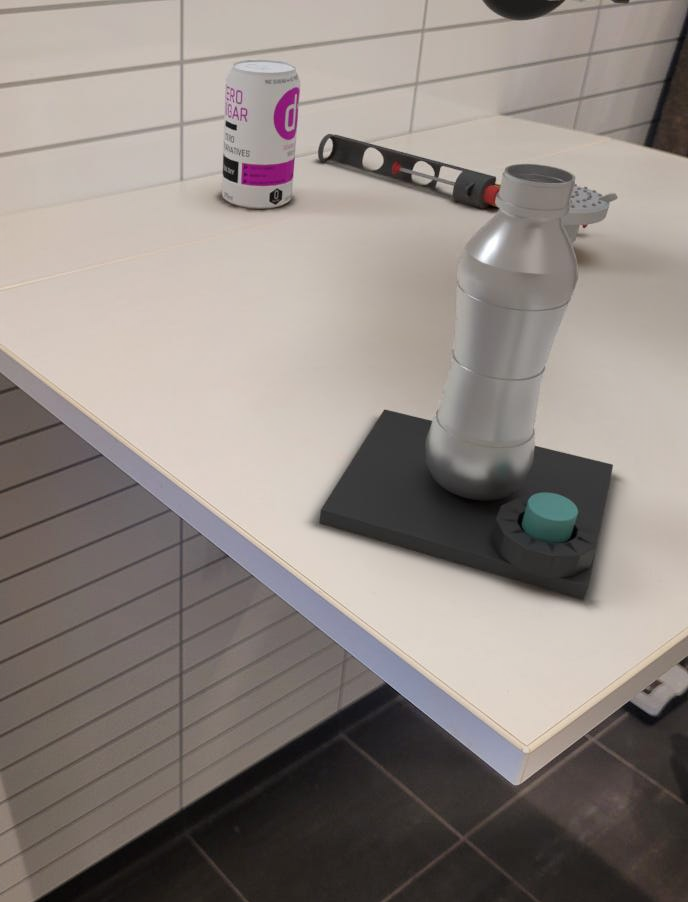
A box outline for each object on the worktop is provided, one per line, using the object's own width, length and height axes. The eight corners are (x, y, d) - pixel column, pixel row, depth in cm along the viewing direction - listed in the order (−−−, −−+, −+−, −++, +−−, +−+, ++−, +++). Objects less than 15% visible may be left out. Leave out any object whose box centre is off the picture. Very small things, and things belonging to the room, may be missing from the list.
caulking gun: (362, 134, 128) (316, 131, 122) (619, 202, 107) (582, 202, 100) (355, 164, 130) (310, 163, 123) (607, 236, 109) (569, 239, 102)
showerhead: (619, 207, 90) (512, 194, 93) (599, 279, 94) (497, 264, 97) (618, 180, 98) (519, 168, 100) (599, 248, 102) (505, 234, 104)
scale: (607, 481, 64) (619, 444, 63) (581, 608, 54) (595, 567, 52) (381, 425, 70) (387, 389, 68) (316, 530, 59) (321, 491, 57)
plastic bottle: (492, 527, 57) (572, 202, 46) (399, 482, 61) (452, 171, 50) (542, 485, 61) (627, 176, 50) (452, 445, 65) (512, 149, 54)
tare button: (573, 523, 56) (581, 499, 55) (567, 550, 54) (575, 525, 53) (525, 510, 57) (532, 487, 56) (517, 536, 55) (524, 512, 54)
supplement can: (303, 199, 113) (314, 65, 104) (268, 218, 107) (277, 77, 98) (245, 186, 116) (251, 55, 108) (208, 203, 110) (212, 66, 102)
